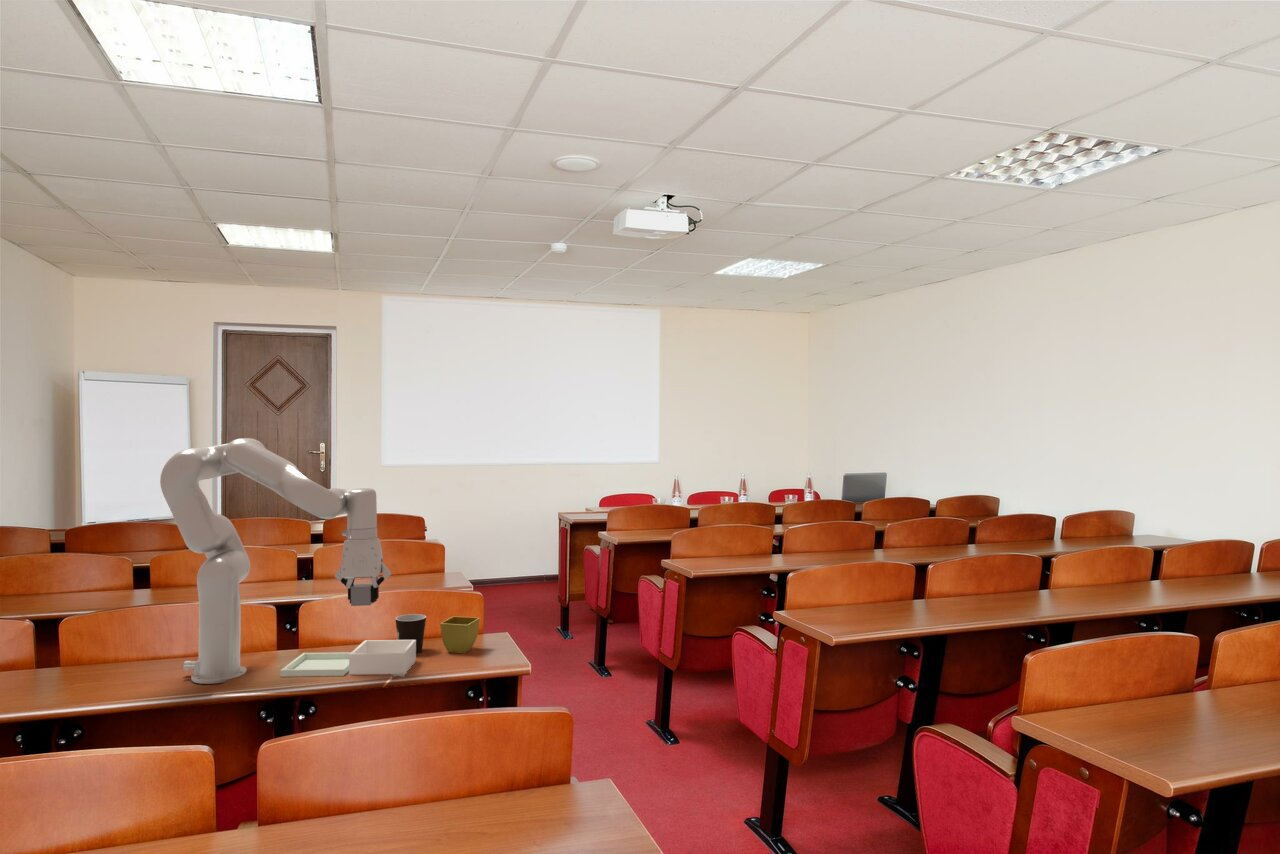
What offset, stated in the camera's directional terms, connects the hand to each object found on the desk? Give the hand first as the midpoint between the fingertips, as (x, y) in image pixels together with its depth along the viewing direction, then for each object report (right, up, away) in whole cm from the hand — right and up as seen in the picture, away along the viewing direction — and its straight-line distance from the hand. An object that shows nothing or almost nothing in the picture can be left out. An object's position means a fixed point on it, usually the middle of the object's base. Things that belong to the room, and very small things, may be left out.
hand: (363, 601), depth 207 cm
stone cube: (0, -1, 0) cm, 1 cm away
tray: (-11, -18, -1) cm, 21 cm away
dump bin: (+5, -18, 0) cm, 19 cm away
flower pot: (+22, -19, +18) cm, 34 cm away
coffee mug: (+8, -19, +18) cm, 27 cm away
